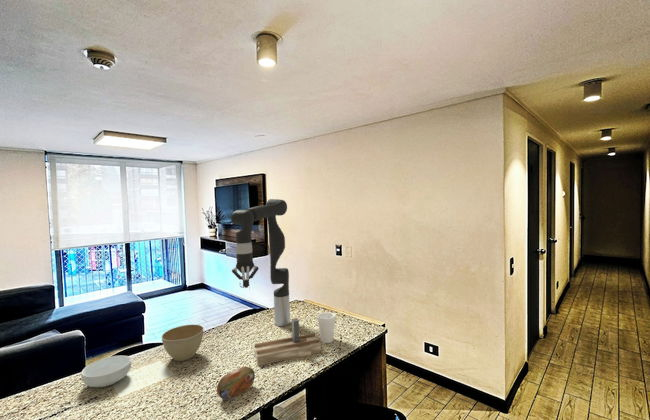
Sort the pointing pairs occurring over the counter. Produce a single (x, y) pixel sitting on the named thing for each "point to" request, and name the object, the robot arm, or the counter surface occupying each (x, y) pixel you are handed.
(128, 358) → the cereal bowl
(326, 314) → the foam cup
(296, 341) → the plunger
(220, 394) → the tin
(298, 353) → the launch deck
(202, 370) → the counter surface
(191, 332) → the deep beige bowl
